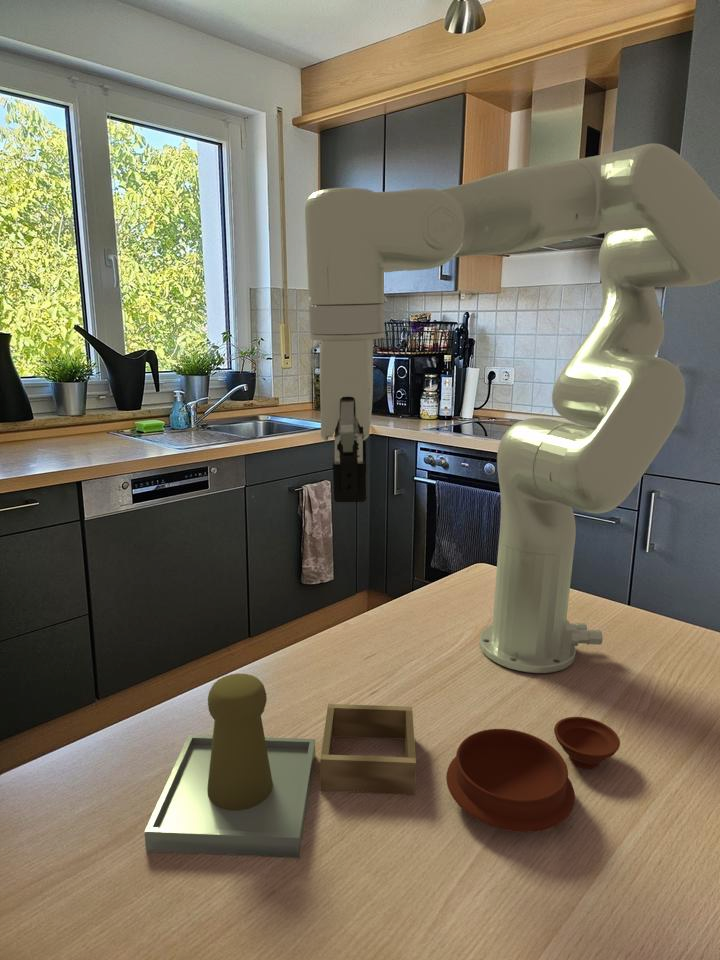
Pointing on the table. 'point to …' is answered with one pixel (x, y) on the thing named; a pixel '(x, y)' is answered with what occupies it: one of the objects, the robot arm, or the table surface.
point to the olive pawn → (238, 744)
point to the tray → (251, 832)
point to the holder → (368, 770)
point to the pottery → (525, 773)
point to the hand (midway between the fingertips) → (351, 487)
